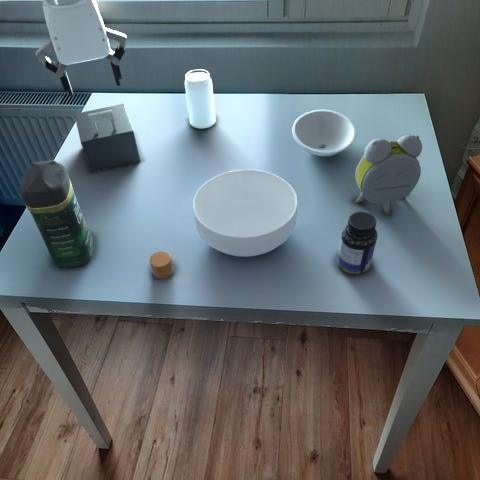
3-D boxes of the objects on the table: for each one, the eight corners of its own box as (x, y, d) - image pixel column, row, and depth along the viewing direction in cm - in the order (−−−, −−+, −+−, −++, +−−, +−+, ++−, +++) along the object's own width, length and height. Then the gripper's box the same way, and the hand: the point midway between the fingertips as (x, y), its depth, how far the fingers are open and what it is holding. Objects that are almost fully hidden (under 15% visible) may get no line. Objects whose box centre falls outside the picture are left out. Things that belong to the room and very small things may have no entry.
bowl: (221, 194, 102) (218, 161, 95) (308, 215, 97) (311, 180, 90) (180, 255, 91) (174, 222, 85) (275, 282, 86) (276, 249, 80)
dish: (358, 171, 105) (361, 151, 101) (293, 173, 105) (294, 154, 101) (348, 127, 115) (350, 108, 111) (289, 129, 116) (290, 110, 112)
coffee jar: (94, 267, 91) (60, 187, 76) (52, 272, 90) (10, 193, 75) (96, 233, 96) (65, 153, 82) (57, 238, 96) (19, 158, 81)
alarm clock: (402, 192, 100) (421, 126, 88) (414, 213, 96) (436, 147, 84) (349, 199, 99) (360, 134, 87) (359, 220, 95) (372, 155, 83)
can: (215, 115, 122) (210, 67, 112) (215, 129, 118) (211, 81, 108) (190, 117, 122) (183, 69, 112) (190, 131, 118) (183, 83, 108)
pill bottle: (358, 249, 90) (369, 204, 82) (376, 271, 87) (388, 225, 78) (330, 259, 89) (337, 214, 80) (346, 281, 86) (356, 236, 77)
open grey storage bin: (141, 162, 111) (133, 132, 104) (92, 174, 109) (81, 143, 102) (132, 137, 117) (124, 106, 111) (85, 147, 115) (75, 117, 109)
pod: (155, 282, 88) (151, 269, 85) (151, 267, 90) (147, 254, 87) (176, 276, 88) (173, 263, 85) (171, 262, 91) (168, 248, 88)
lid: (134, 134, 104) (128, 111, 100) (81, 145, 102) (73, 123, 98) (124, 106, 111) (119, 84, 107) (75, 117, 109) (67, 95, 105)
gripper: (110, -25, 86) (132, 71, 99) (14, -8, 83) (50, 88, 97) (117, -11, 81) (139, 87, 95) (15, 7, 79) (53, 106, 92)
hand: (94, 87), depth 96 cm, fingers open, 9 cm apart
